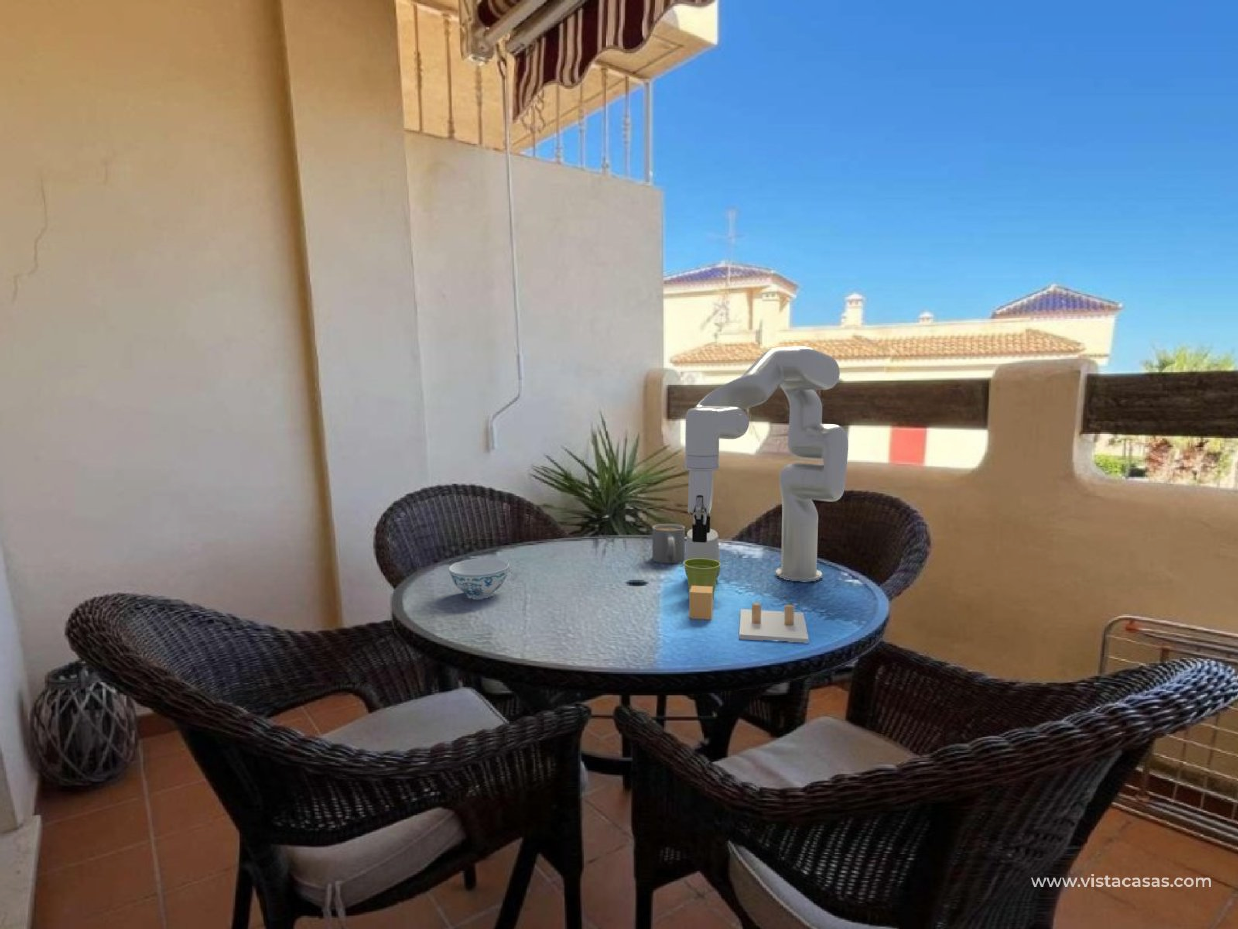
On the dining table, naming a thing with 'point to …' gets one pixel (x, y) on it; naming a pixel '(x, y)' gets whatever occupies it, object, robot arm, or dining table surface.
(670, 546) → the coffee mug
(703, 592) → the tan cardboard-like box
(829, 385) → the robot arm
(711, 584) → the plant pot
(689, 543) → the smart speaker
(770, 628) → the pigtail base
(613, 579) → the dining table surface
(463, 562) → the chinaware
